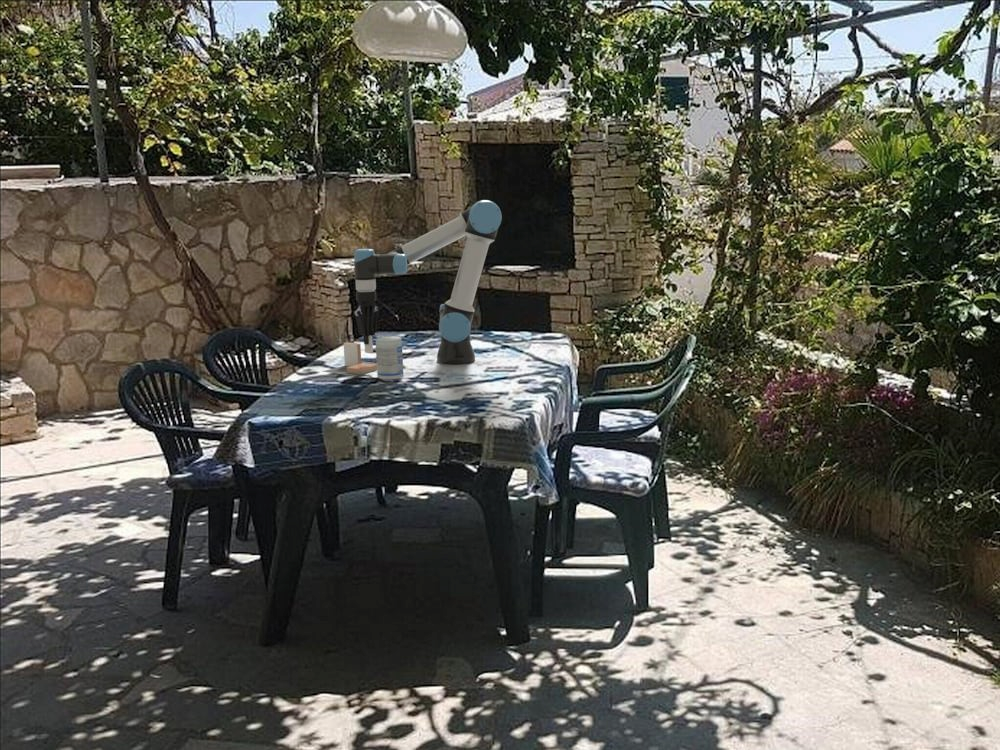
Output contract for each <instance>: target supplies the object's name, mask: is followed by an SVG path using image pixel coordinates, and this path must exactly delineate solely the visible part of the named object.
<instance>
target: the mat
mask: <svg viewBox="0 0 1000 750" xmlns="http://www.w3.org/2000/svg"><path fill="white" fill-rule="evenodd" d="M361 363H366V364H374V365H377V362H371V361H362V360H361ZM347 367H350V366H345V365H342V366H338V367H334V368H331V369H327V370H323V371H322V372H323V373H324V372H325V373H329V374H331V373H332V374H338V375H345V376H351V377H352V376H354V377H358V376H361V375H362V376H363V375H366V374H368V373H372V372H376V371H377V370H375V371H371V372H368V373H364V374H355V373H347Z"/></svg>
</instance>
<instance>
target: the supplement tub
mask: <svg viewBox="0 0 1000 750" xmlns="http://www.w3.org/2000/svg"><path fill="white" fill-rule="evenodd" d="M375 354H376V355H375V356H376V363H377V370H376V371H377V373H376V374H377V378H378V379H380V380H399V379H402V378H403V377H404V360H403V359H404V358H403V357H404V356H403V341H402V337H400V336H380V337H377V338H375Z"/></svg>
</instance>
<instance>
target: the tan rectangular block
mask: <svg viewBox="0 0 1000 750" xmlns="http://www.w3.org/2000/svg"><path fill="white" fill-rule="evenodd" d="M375 370H376V371H377V365H374V364H366V363H361V364H357V365H354V366H350V367H347V373H355V374H362V375H365V374H364V373H366V374H368V372H369V373H372V372H371V371H373V372H376V371H375Z"/></svg>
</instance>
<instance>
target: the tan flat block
mask: <svg viewBox="0 0 1000 750" xmlns="http://www.w3.org/2000/svg"><path fill="white" fill-rule="evenodd" d="M361 350H362V348H361V343H357V342H356V343H355V342H347V341H346V342H344V343H343V356H344V357H343V358H344V366H354V365H357V364H361V361H362V351H361Z"/></svg>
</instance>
